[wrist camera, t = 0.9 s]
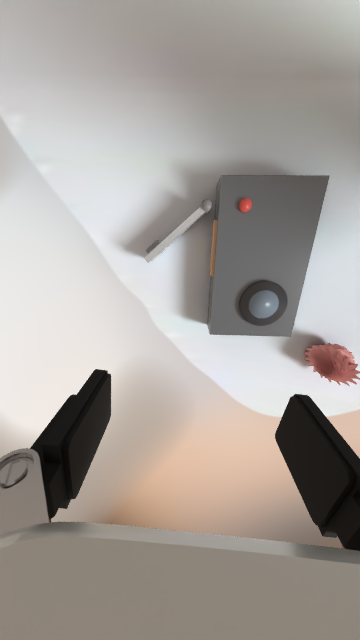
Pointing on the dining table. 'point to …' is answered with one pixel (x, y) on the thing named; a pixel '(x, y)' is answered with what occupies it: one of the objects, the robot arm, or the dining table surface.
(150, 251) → the port door
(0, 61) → the dining table surface
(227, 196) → the camera body
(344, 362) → the flower
